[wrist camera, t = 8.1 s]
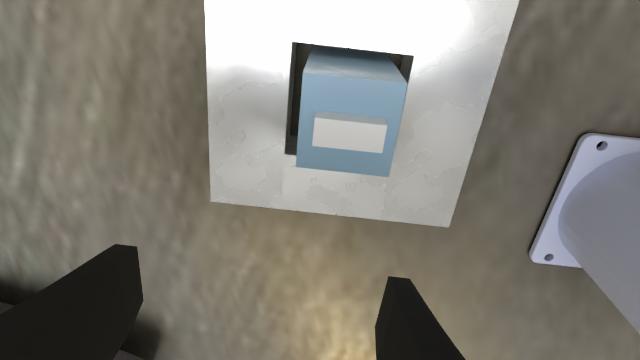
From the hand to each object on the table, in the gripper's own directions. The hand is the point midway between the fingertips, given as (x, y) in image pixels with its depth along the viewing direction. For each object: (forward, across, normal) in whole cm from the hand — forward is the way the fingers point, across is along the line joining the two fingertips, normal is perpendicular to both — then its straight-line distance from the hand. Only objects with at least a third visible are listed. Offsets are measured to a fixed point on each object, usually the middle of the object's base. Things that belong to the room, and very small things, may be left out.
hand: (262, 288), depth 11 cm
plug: (+10, -2, -4) cm, 11 cm away
